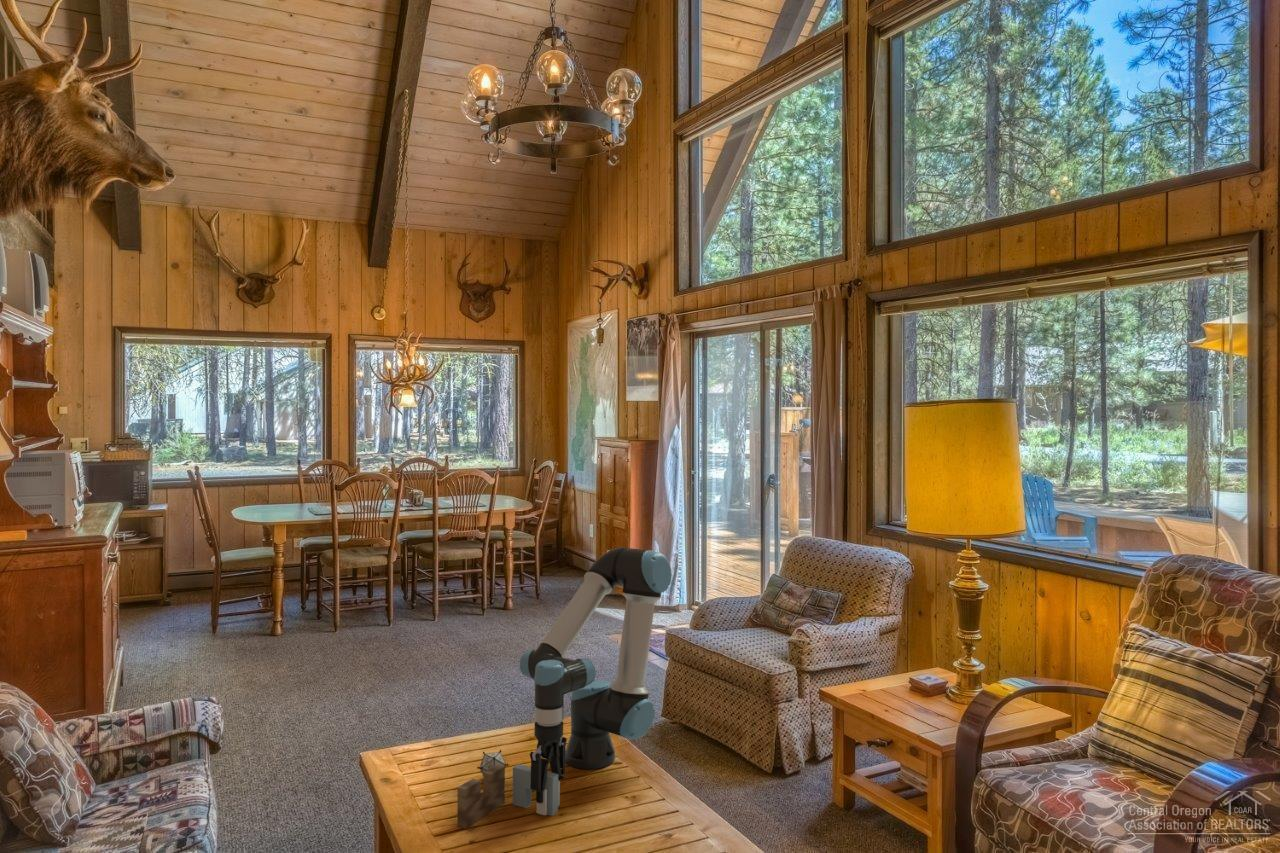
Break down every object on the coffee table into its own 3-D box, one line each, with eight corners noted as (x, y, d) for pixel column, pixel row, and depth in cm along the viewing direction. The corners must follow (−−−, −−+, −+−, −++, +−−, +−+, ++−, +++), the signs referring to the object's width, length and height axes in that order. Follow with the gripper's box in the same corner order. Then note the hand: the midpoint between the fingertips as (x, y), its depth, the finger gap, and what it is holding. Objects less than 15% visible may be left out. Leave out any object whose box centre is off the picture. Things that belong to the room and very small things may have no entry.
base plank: (497, 801, 228) (497, 764, 227) (504, 803, 226) (504, 766, 226) (457, 826, 214) (457, 787, 213) (464, 828, 212) (465, 789, 212)
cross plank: (518, 800, 228) (518, 763, 228) (558, 812, 222) (558, 774, 222) (512, 804, 226) (512, 767, 226) (552, 815, 220) (552, 777, 219)
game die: (496, 795, 239) (500, 776, 233) (470, 782, 241) (473, 762, 235) (511, 769, 246) (515, 750, 240) (485, 756, 248) (489, 737, 242)
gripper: (556, 708, 231) (556, 792, 232) (516, 729, 215) (515, 820, 216) (579, 713, 228) (579, 798, 228) (540, 735, 212) (539, 827, 212)
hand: (548, 808), depth 222 cm, fingers open, 5 cm apart
